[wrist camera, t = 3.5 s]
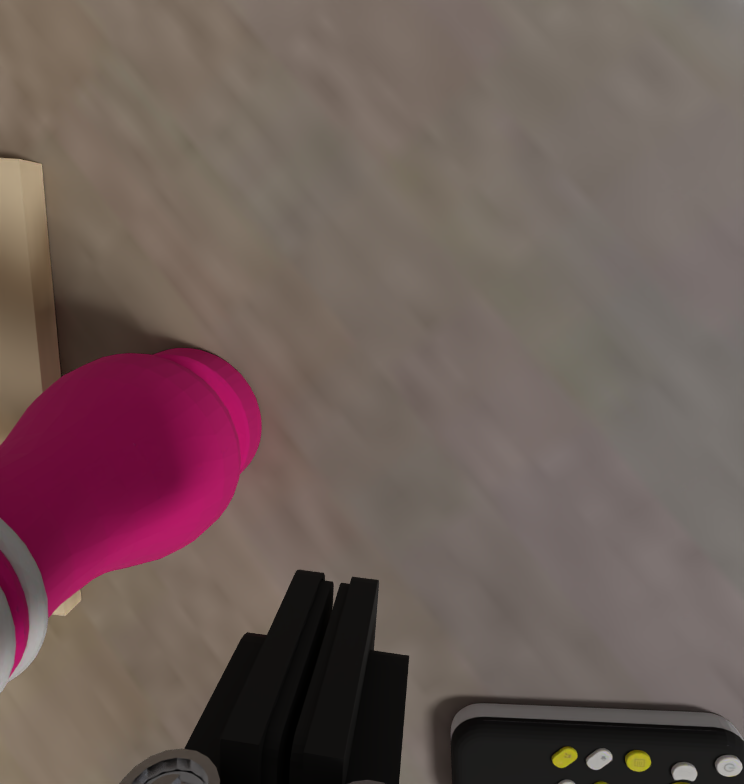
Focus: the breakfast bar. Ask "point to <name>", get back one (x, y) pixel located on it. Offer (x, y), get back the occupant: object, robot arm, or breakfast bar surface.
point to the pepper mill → (114, 478)
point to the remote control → (592, 746)
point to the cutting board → (25, 300)
